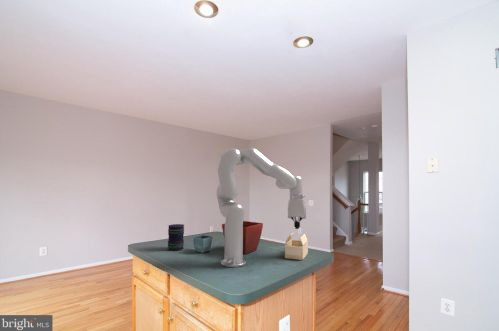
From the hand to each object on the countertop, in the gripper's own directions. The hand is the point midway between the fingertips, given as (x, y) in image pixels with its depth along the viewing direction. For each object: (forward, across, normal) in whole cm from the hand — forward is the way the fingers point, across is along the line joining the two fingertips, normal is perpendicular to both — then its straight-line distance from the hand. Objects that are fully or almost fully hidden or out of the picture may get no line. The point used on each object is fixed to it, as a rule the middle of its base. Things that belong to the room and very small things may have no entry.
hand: (297, 228), depth 143 cm
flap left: (+6, +4, 0) cm, 7 cm away
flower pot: (+14, +56, +16) cm, 60 cm away
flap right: (+6, -4, 0) cm, 7 cm away
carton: (+15, +1, +1) cm, 15 cm away
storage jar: (+14, +75, +18) cm, 78 cm away
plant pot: (+15, +34, +5) cm, 37 cm away
